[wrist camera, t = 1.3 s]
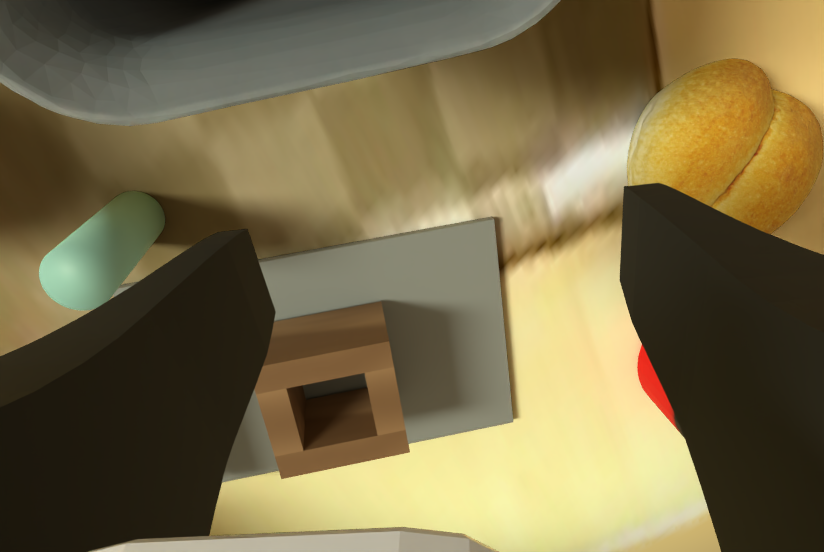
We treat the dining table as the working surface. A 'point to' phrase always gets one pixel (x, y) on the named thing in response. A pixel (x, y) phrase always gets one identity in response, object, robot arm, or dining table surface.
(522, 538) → the dining table surface
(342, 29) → the storage bin
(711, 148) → the bread roll
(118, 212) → the dowel
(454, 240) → the mat with wall
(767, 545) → the robot arm
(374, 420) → the block
